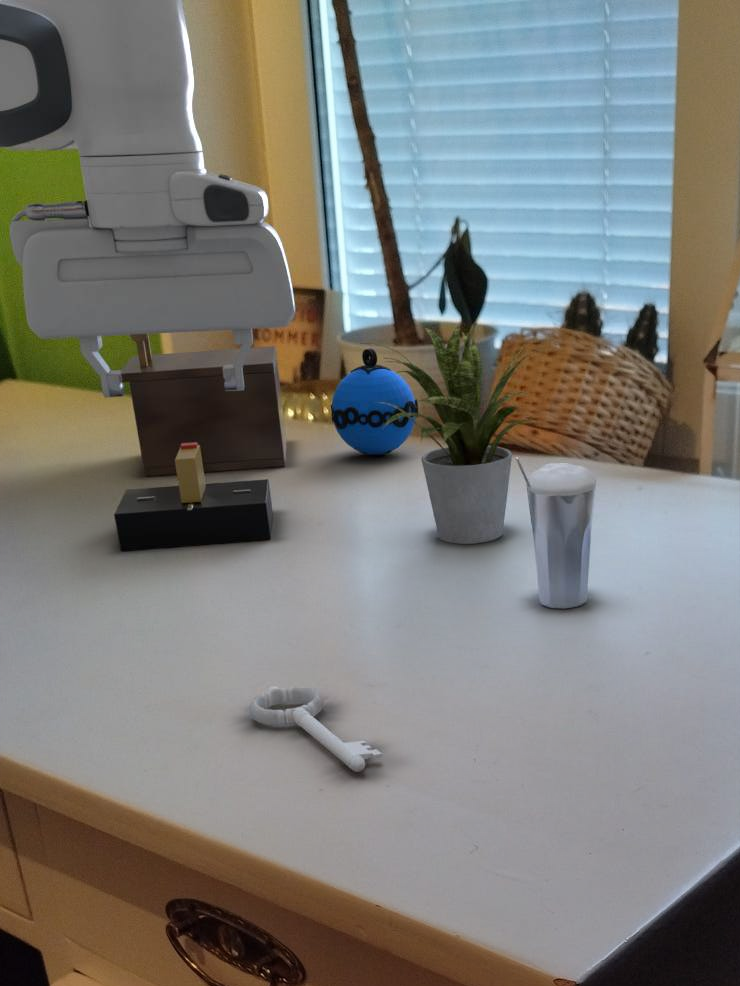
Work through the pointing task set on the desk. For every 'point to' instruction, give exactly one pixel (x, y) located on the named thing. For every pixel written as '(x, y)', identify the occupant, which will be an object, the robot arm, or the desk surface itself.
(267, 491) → the panel
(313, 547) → the desk surface
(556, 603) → the milkshake
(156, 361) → the lid
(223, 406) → the box
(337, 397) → the ornament
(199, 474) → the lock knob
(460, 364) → the house plant
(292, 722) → the key
